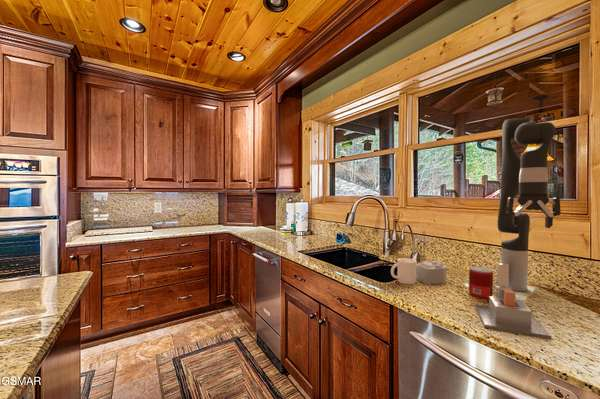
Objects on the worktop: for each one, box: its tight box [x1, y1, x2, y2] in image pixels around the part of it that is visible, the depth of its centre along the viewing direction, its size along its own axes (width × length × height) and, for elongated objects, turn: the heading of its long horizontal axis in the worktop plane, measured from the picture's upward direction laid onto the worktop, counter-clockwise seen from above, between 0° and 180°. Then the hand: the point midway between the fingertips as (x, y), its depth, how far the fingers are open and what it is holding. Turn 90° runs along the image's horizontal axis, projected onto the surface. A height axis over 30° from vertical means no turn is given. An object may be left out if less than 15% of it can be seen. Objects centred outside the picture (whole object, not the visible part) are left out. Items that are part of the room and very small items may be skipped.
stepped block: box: [502, 290, 517, 307], centre depth 87 cm, size 3×3×9 cm
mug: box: [390, 257, 417, 286], centre depth 124 cm, size 12×8×10 cm
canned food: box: [468, 265, 494, 300], centre depth 108 cm, size 8×8×11 cm
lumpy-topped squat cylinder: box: [416, 260, 447, 285], centre depth 127 cm, size 10×13×9 cm
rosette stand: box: [474, 262, 552, 340], centre depth 88 cm, size 18×16×17 cm
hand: (531, 227), depth 93 cm, fingers open, 8 cm apart
